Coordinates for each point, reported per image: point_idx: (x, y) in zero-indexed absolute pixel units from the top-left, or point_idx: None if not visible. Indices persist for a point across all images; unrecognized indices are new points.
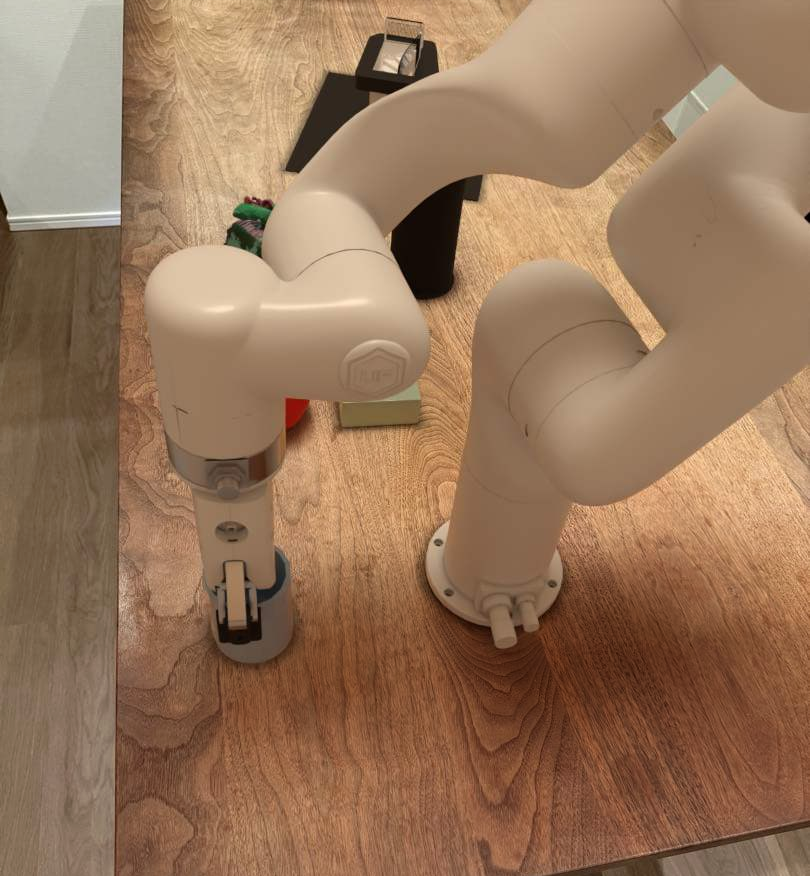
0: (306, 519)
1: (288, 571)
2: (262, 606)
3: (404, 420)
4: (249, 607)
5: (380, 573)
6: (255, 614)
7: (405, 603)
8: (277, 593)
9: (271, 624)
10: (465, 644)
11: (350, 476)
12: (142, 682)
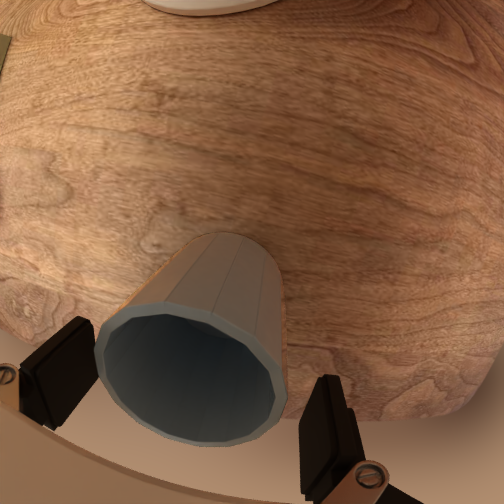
0: (68, 173)
1: (193, 313)
2: (286, 390)
3: (2, 50)
4: (331, 470)
5: (175, 77)
6: (383, 489)
7: (241, 52)
8: (259, 356)
9: (282, 324)
10: (335, 5)
11: (32, 108)
12: None
